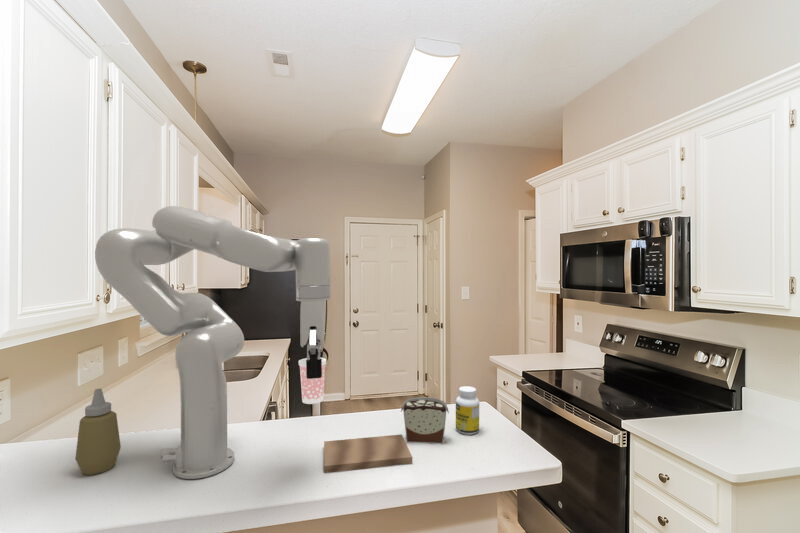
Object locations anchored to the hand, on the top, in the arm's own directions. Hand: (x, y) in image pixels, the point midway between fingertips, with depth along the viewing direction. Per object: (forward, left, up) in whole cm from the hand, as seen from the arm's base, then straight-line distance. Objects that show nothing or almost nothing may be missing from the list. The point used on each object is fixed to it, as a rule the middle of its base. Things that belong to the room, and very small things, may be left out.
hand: (314, 372), depth 86 cm
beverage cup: (0, 0, -6) cm, 6 cm away
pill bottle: (+41, +12, -22) cm, 48 cm away
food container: (+28, +10, -22) cm, 37 cm away
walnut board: (+12, +4, -22) cm, 25 cm away
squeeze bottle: (-48, +10, -22) cm, 54 cm away
